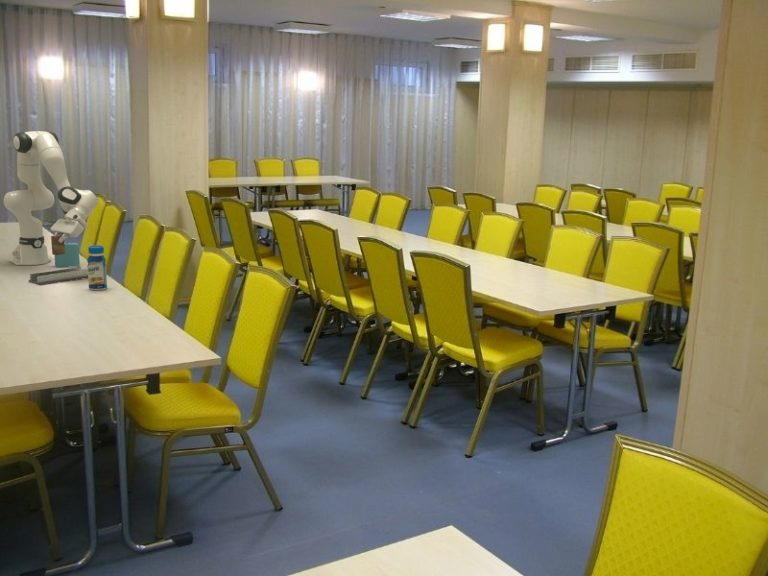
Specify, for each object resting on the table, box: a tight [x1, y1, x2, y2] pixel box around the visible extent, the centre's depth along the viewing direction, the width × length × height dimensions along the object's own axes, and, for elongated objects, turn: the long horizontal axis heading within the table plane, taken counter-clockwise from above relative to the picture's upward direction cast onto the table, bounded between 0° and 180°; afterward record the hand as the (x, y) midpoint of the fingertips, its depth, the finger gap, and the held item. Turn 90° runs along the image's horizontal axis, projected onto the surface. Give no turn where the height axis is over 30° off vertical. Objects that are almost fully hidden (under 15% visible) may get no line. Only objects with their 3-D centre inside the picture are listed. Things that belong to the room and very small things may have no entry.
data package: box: [53, 242, 81, 268], centre depth 435 cm, size 12×4×12 cm, turn 113°
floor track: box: [28, 266, 88, 286], centre depth 403 cm, size 11×26×4 cm, turn 140°
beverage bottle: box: [86, 244, 108, 291], centre depth 384 cm, size 8×8×20 cm
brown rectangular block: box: [50, 234, 66, 256], centre depth 400 cm, size 3×5×9 cm, turn 140°
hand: (56, 241), depth 399 cm, fingers closed on brown rectangular block, 3 cm apart
